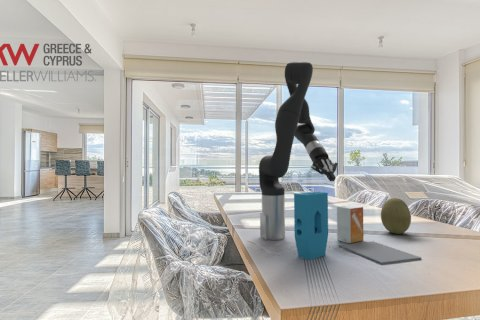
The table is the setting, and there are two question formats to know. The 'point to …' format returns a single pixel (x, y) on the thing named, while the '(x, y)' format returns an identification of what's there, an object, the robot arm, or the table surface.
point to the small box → (350, 223)
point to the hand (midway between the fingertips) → (333, 180)
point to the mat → (379, 252)
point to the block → (311, 224)
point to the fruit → (396, 216)
